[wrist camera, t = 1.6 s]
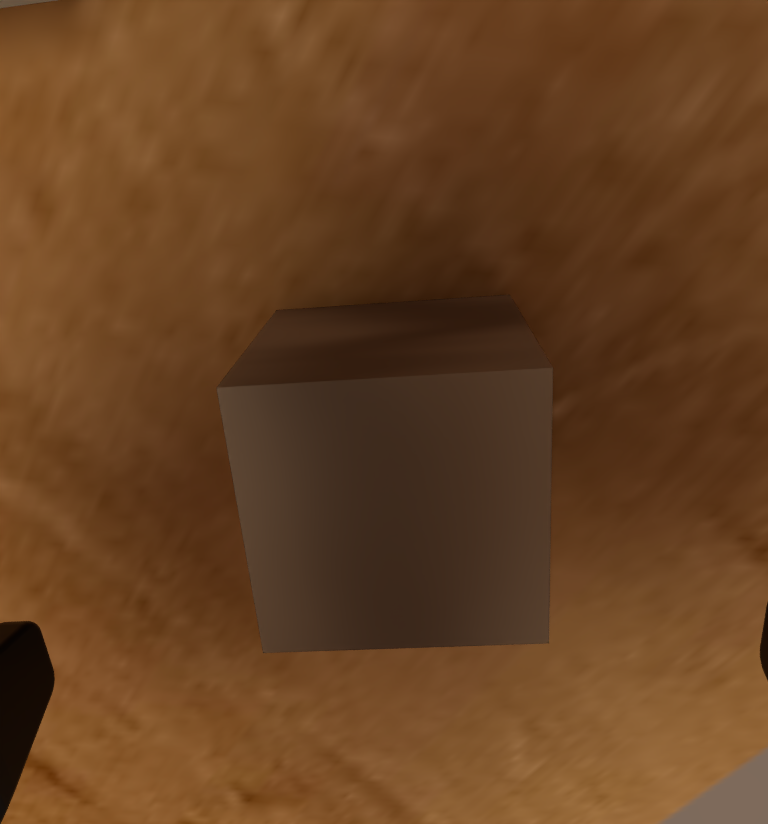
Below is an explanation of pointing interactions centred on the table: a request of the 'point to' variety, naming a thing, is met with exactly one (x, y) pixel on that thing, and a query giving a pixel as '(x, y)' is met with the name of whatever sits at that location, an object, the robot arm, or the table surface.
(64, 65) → the table surface
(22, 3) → the base block
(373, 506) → the walnut cube
